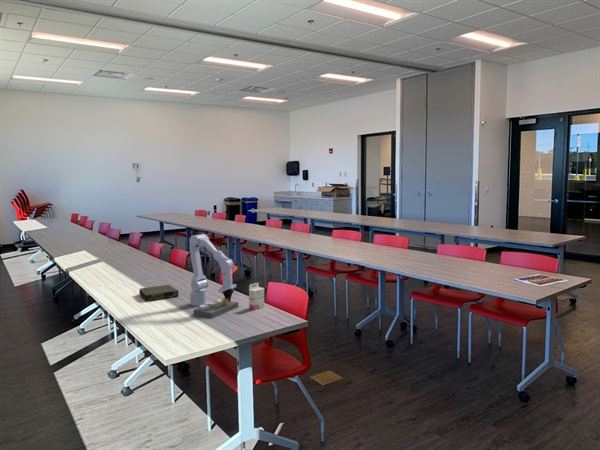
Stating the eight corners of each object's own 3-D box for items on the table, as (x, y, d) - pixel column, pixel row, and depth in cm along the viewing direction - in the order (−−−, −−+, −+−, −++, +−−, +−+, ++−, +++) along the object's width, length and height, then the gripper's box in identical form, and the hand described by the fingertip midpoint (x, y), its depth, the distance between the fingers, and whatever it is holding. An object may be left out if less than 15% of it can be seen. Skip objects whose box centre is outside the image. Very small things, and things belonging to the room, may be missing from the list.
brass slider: (221, 304, 266) (221, 299, 266) (224, 303, 269) (224, 297, 268) (225, 305, 265) (225, 299, 264) (228, 304, 267) (228, 298, 267)
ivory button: (215, 304, 273) (215, 300, 273) (219, 302, 276) (219, 299, 276) (220, 305, 271) (220, 301, 271) (224, 303, 274) (224, 299, 274)
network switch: (148, 303, 287) (147, 295, 286) (135, 296, 305) (134, 289, 304) (182, 296, 301) (182, 289, 301) (168, 290, 319) (167, 283, 319)
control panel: (193, 314, 259) (193, 309, 259) (220, 304, 280) (220, 299, 280) (212, 318, 253) (212, 312, 252) (238, 307, 273) (238, 302, 273)
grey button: (199, 310, 261) (199, 306, 261) (204, 308, 264) (204, 304, 264) (204, 311, 259) (204, 307, 259) (209, 309, 262) (209, 305, 262)
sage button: (207, 307, 267) (207, 303, 267) (212, 305, 270) (212, 301, 270) (212, 308, 265) (212, 304, 265) (217, 306, 268) (217, 302, 268)
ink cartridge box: (254, 310, 266) (254, 285, 265) (249, 308, 270) (248, 284, 268) (265, 306, 273) (264, 283, 271) (259, 305, 276) (258, 282, 275)
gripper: (224, 282, 259) (225, 305, 261) (240, 277, 272) (240, 299, 273) (215, 281, 263) (216, 304, 264) (230, 276, 275) (231, 298, 277)
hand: (228, 301), depth 269 cm, fingers closed
